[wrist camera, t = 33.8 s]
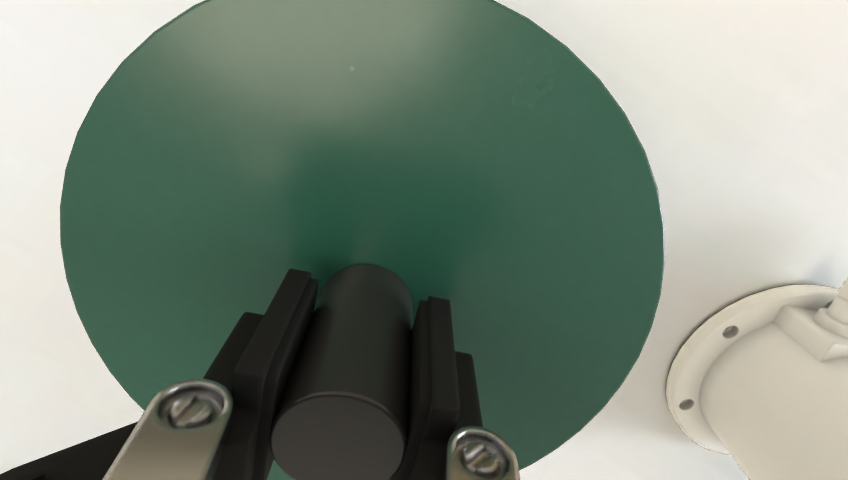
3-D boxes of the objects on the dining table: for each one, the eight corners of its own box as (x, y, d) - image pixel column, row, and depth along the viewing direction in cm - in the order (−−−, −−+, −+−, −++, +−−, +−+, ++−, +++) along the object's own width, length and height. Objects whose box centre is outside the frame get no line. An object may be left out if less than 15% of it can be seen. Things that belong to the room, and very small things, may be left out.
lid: (-9, -15, 11) (-450, -56, 6) (701, -41, 11) (996, -111, 5) (169, 479, 18) (54, 687, 12) (608, 469, 18) (694, 674, 12)
